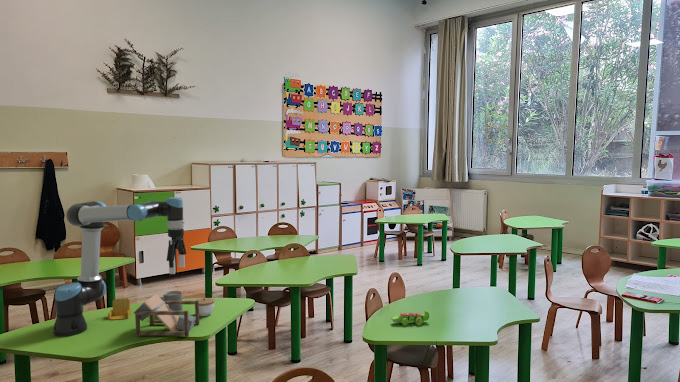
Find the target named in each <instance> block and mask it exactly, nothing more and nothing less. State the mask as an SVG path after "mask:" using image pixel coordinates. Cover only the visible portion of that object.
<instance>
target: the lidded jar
mask: <svg viewBox="0 0 680 382" xmlns="http://www.w3.org/2000/svg"><path fill="white" fill-rule="evenodd" d="M195 301H199V317H207V316H210V315H211V314H212V313H213V312H214V309H215V299H214V298H211V297H201V298H198V299H195Z"/></svg>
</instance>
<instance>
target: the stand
mask: <svg viewBox="0 0 680 382" xmlns="http://www.w3.org/2000/svg"><path fill="white" fill-rule="evenodd" d="M164 302H165V304H182V305H194V311H195V314H194V315H195V316H194V317H196V319H195V323H194V324H195V325H196V326H199V325H200V316H199V301H196V300H182V301H164ZM135 311H136V310H135ZM135 311H134V312H135ZM140 315H149V325H150V326H154V324H160V325H161V324H163V323H162V322H161V321H160V320H159V319H155V317H154V316H155V315H177V316H180V315H184V325H185V331H183V330H180V331H170V330H169V331H168V330H166V331H165V330H157V331H156V330H155V331H153V330H152V331H151V330H145V331H143V330H141V320H140ZM188 315H189V310H182V311H136V312H135V314H134V318H135V319H134V320H135V335H136V336H135V337H136V338H140V337H141V336H184V337H185V338H188V337H189V336H190V332H189V321H188ZM163 325H164V324H163Z"/></svg>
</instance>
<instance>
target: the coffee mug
mask: <svg viewBox="0 0 680 382" xmlns="http://www.w3.org/2000/svg"><path fill="white" fill-rule="evenodd" d="M182 293H183V292H182V290H181V291H180V290H169V291H165V292H164V293H163V296H159V297H160V298H161V300H162V301H183V294H182ZM168 305H169V307H170V309H171V310H172V311H183V304H168Z"/></svg>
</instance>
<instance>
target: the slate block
mask: <svg viewBox="0 0 680 382" xmlns="http://www.w3.org/2000/svg"><path fill="white" fill-rule="evenodd" d="M178 317H179V318H178V322H177V325H176V328H177V329H180V331H185V325H184V315H178ZM195 320H196V317H195V316H193V315H190V314H188V321H189V333H190V332H191V331H192V330H193V328H194V327H195V326H194V325H195V324H196V323H195Z"/></svg>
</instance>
